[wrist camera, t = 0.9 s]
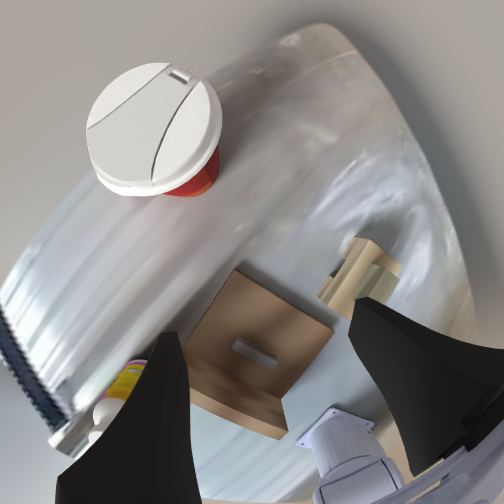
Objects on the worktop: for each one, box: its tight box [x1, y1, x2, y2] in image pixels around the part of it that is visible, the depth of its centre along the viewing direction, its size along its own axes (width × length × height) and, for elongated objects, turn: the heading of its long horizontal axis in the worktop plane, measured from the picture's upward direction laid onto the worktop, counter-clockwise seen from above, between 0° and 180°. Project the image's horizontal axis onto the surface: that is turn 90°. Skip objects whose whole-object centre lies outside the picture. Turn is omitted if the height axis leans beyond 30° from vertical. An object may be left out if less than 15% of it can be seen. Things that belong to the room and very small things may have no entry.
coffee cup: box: [86, 63, 222, 197], centre depth 19 cm, size 8×8×15 cm
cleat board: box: [182, 268, 335, 440], centre depth 26 cm, size 13×12×7 cm
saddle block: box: [316, 237, 402, 321], centre depth 26 cm, size 5×8×7 cm, turn 146°
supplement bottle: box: [89, 360, 147, 445], centre depth 23 cm, size 7×7×13 cm
